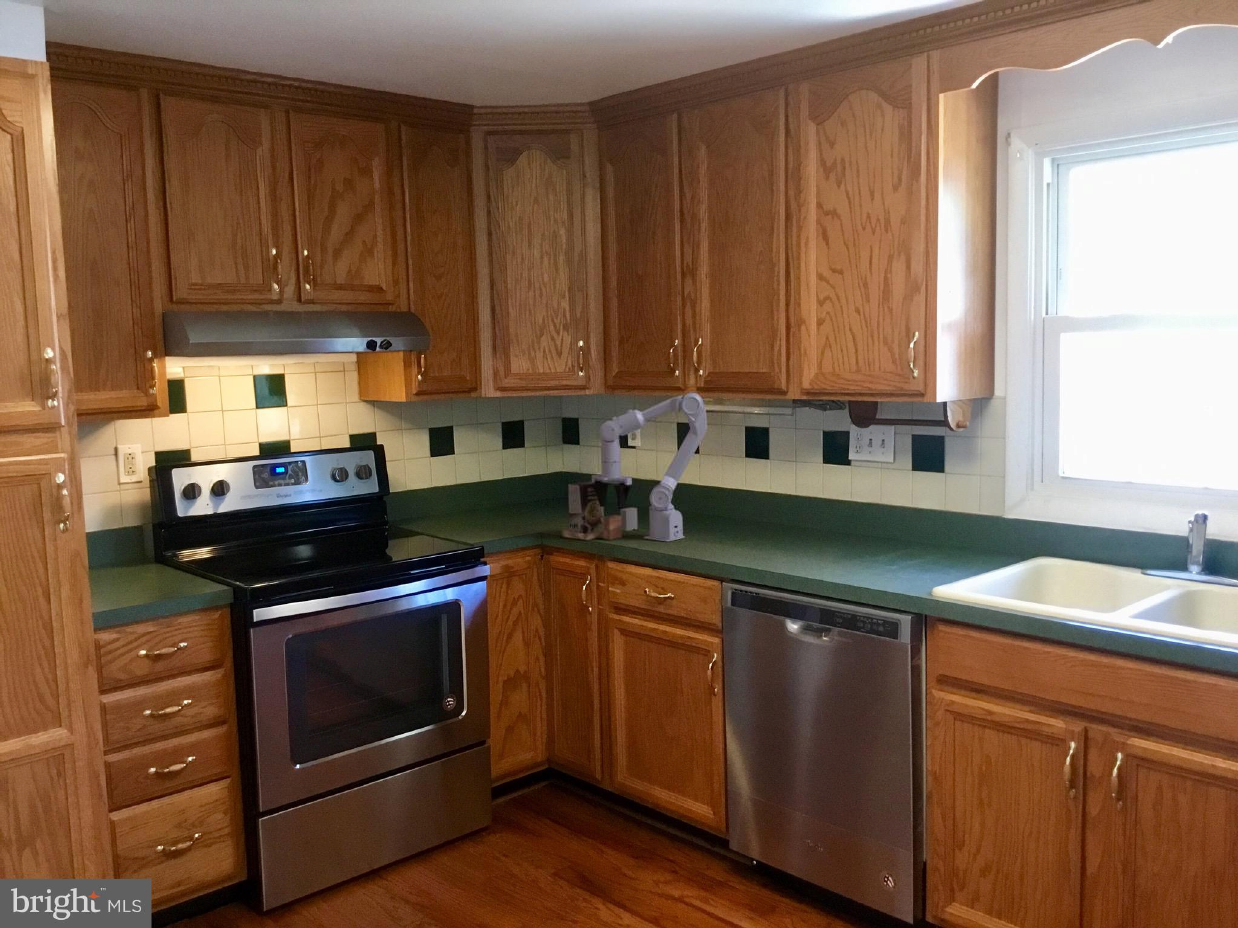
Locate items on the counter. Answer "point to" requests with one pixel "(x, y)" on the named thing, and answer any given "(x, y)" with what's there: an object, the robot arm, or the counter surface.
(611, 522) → the carton sled
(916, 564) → the counter surface
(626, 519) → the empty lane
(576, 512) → the coffee box
